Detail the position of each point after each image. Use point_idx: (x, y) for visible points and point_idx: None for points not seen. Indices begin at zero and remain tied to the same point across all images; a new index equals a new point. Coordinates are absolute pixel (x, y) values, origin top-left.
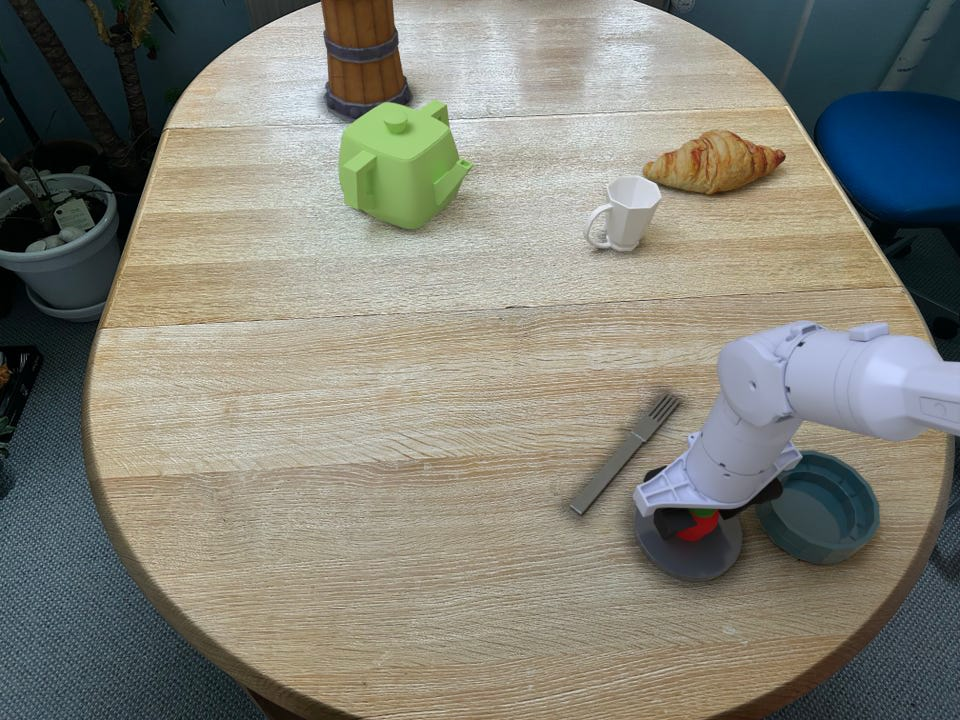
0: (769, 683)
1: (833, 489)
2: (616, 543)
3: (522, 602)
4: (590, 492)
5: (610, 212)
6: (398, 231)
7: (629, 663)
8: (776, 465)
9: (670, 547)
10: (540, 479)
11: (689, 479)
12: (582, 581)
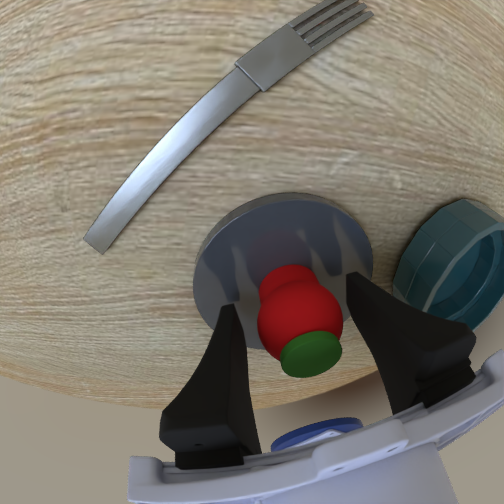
0: (303, 396)
1: (486, 245)
2: (163, 293)
3: (59, 341)
4: (116, 215)
5: None
6: None
7: (173, 391)
8: (459, 436)
9: (245, 319)
10: (39, 181)
11: (261, 502)
12: (117, 332)
